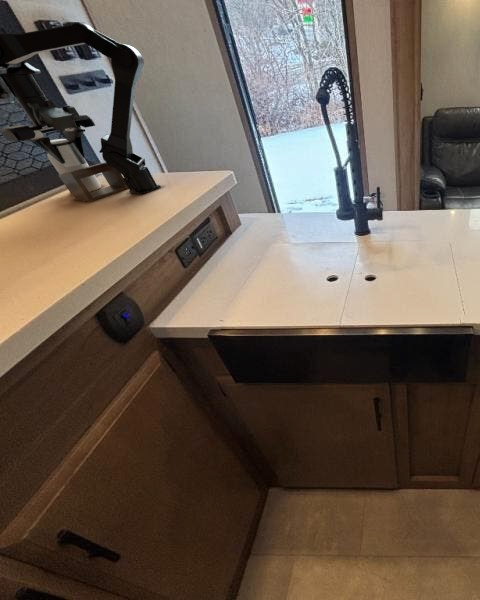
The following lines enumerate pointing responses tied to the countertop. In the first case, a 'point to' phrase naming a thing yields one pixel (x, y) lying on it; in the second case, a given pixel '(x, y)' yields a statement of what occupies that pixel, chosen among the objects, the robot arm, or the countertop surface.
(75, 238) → the countertop surface
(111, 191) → the frame
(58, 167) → the pill bottle
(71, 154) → the spice tin
